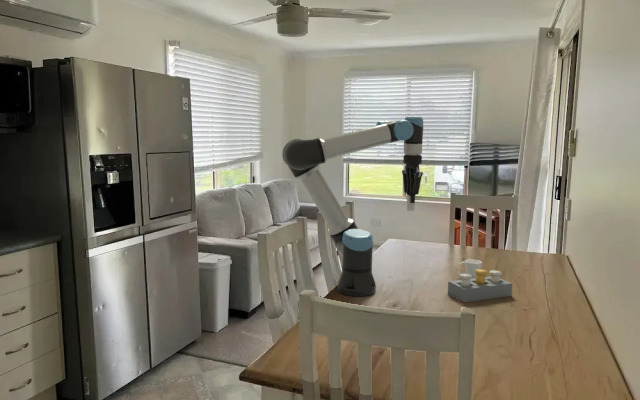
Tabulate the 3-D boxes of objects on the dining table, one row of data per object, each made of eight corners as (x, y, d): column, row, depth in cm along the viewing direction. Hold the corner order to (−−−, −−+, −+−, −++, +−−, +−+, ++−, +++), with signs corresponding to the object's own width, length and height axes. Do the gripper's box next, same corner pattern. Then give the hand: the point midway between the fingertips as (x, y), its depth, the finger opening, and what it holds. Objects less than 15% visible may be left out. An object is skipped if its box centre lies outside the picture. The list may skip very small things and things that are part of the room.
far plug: (493, 290, 179) (494, 274, 178) (486, 287, 183) (487, 270, 182) (502, 289, 181) (504, 273, 180) (495, 286, 185) (496, 269, 184)
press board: (464, 302, 171) (464, 289, 171) (447, 293, 181) (448, 281, 180) (511, 295, 179) (512, 283, 178) (493, 287, 188) (494, 275, 188)
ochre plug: (479, 289, 177) (480, 273, 176) (471, 286, 181) (472, 269, 180) (488, 288, 178) (489, 271, 177) (480, 285, 182) (481, 268, 181)
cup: (480, 282, 195) (481, 264, 193) (455, 279, 198) (456, 261, 197) (481, 278, 201) (482, 260, 200) (457, 275, 205) (458, 257, 204)
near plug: (463, 294, 174) (464, 277, 173) (456, 290, 178) (457, 274, 178) (473, 293, 176) (474, 276, 175) (465, 289, 180) (466, 273, 179)
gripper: (429, 155, 188) (426, 212, 192) (412, 153, 201) (410, 207, 204) (413, 155, 186) (410, 213, 189) (396, 153, 198) (395, 208, 201)
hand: (410, 210), depth 196 cm, fingers closed
